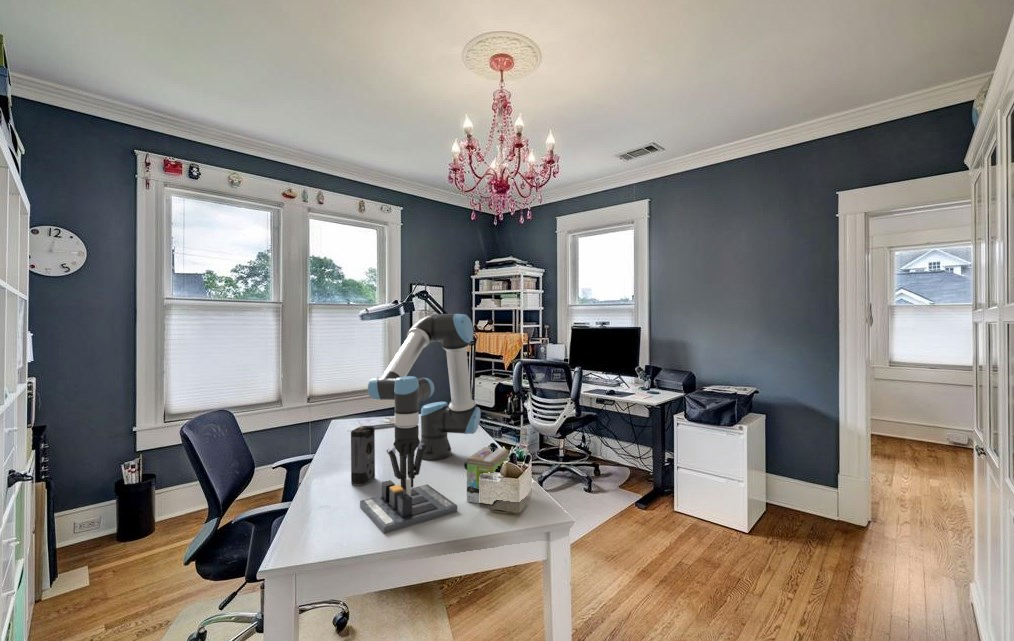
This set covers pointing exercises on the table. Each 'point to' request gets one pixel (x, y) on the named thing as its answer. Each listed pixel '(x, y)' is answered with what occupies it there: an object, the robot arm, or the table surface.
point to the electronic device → (362, 455)
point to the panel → (409, 519)
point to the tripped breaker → (395, 495)
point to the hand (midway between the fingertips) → (407, 498)
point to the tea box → (482, 469)
